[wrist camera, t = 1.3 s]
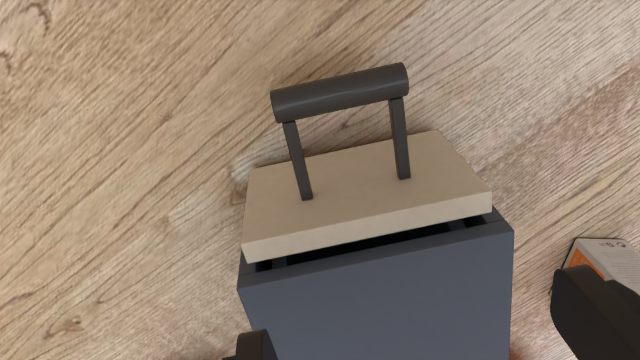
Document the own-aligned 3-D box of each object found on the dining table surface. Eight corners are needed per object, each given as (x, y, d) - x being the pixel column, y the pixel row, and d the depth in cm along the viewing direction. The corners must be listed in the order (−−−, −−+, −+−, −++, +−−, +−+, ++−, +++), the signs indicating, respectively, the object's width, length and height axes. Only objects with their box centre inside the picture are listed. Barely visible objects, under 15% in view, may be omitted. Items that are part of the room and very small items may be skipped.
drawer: (220, 77, 23) (197, 128, 16) (431, 30, 22) (494, 63, 16) (298, 323, 32) (303, 417, 26) (447, 292, 32) (490, 379, 25)
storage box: (248, 187, 27) (236, 289, 19) (443, 145, 27) (514, 230, 19) (298, 340, 34) (304, 461, 26) (452, 308, 34) (506, 420, 26)
